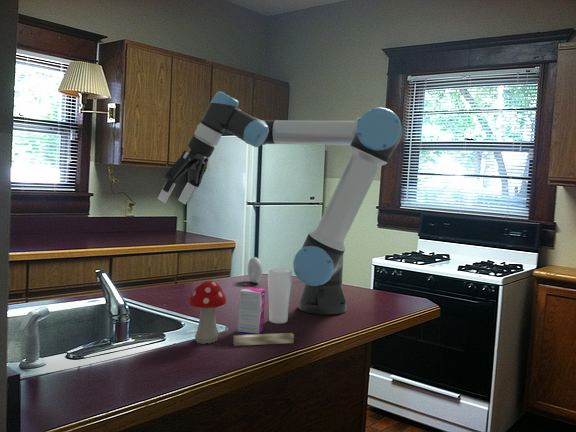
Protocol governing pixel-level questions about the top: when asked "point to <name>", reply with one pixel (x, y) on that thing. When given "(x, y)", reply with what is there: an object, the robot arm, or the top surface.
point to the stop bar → (263, 339)
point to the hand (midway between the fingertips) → (171, 201)
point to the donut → (255, 270)
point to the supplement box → (251, 311)
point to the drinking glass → (279, 294)
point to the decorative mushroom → (207, 310)
